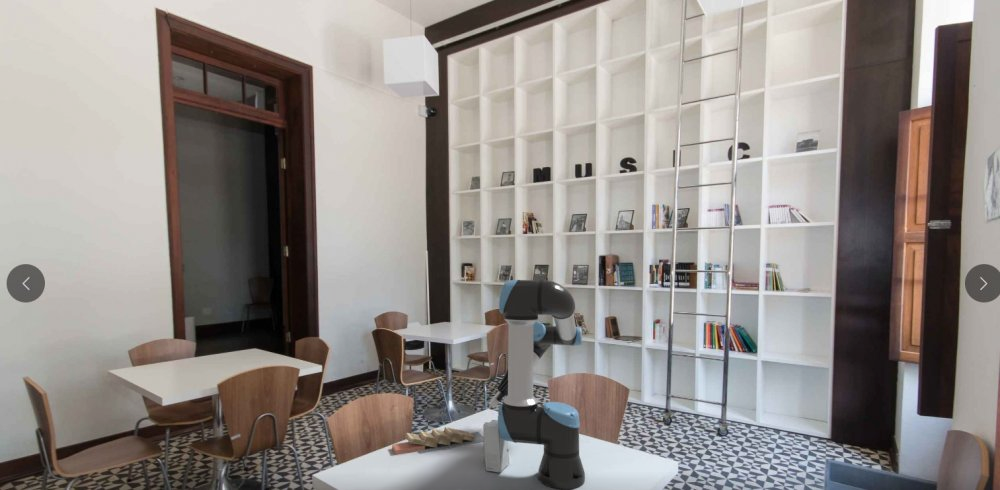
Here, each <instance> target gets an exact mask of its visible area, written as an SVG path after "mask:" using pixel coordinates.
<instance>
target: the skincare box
mask: <svg viewBox="0 0 1000 490" xmlns="http://www.w3.org/2000/svg"><path fill="white" fill-rule="evenodd" d="M482 428H483V430H484V442H483V448H484V447H485V461H484V462H485V471H487V472H494V473H499V474H500V473H502V472H503V471H504V469H505V468H506V467H507V466H508V465H510V453H509V452H510V451H509V441H505V440H504V439H503V438H502V437H501V435H500V432H499V427H498V419H492V420H491V421H489V423H487V424H486V425H485V426H484V427H483V426H482ZM483 430H482V431H483Z"/></svg>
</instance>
